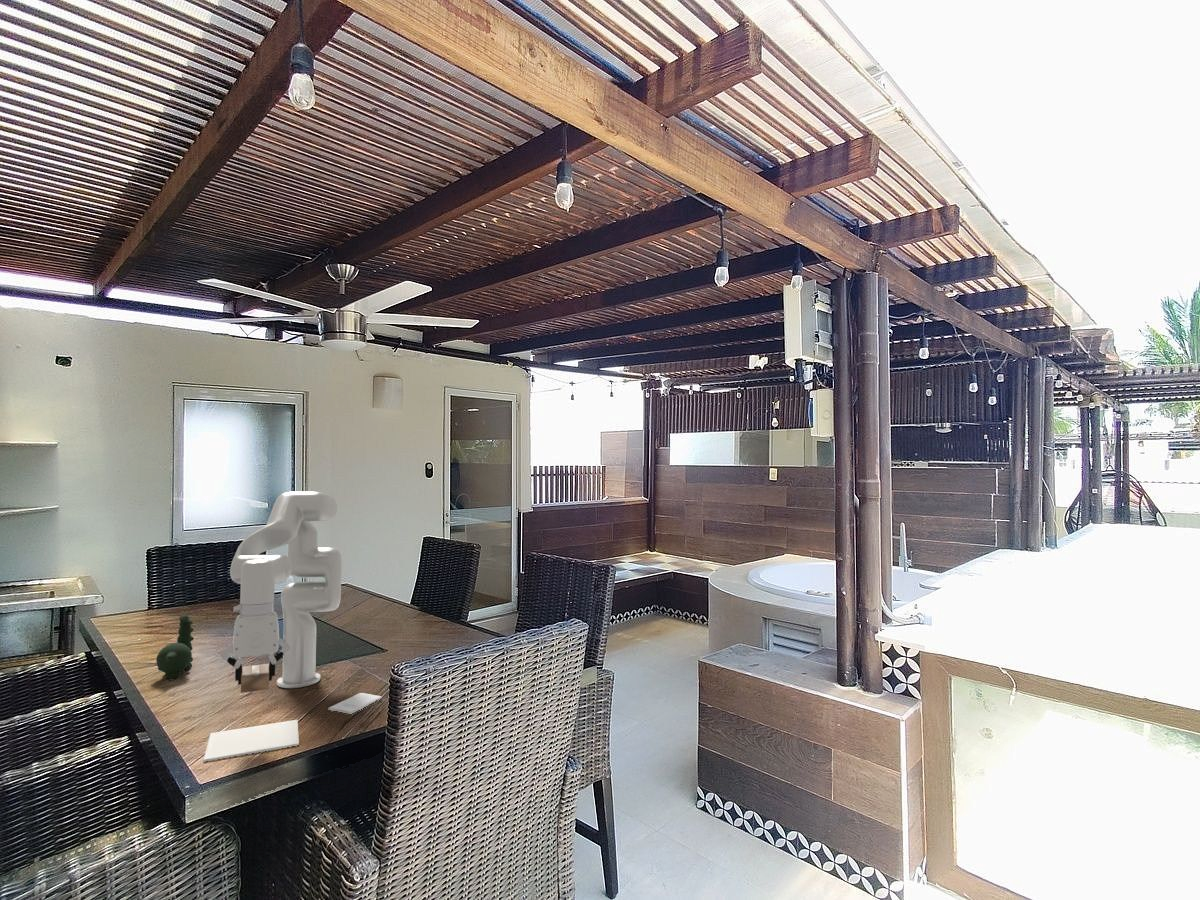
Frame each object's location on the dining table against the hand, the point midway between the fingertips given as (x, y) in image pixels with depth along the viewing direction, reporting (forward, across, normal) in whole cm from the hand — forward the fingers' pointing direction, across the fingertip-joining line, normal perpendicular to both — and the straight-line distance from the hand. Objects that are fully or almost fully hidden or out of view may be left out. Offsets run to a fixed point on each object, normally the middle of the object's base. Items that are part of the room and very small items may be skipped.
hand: (255, 680), depth 157 cm
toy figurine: (+15, -25, +68) cm, 74 cm away
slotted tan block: (+1, 0, 0) cm, 1 cm away
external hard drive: (+16, +25, +14) cm, 33 cm away
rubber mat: (+15, 0, 0) cm, 15 cm away
